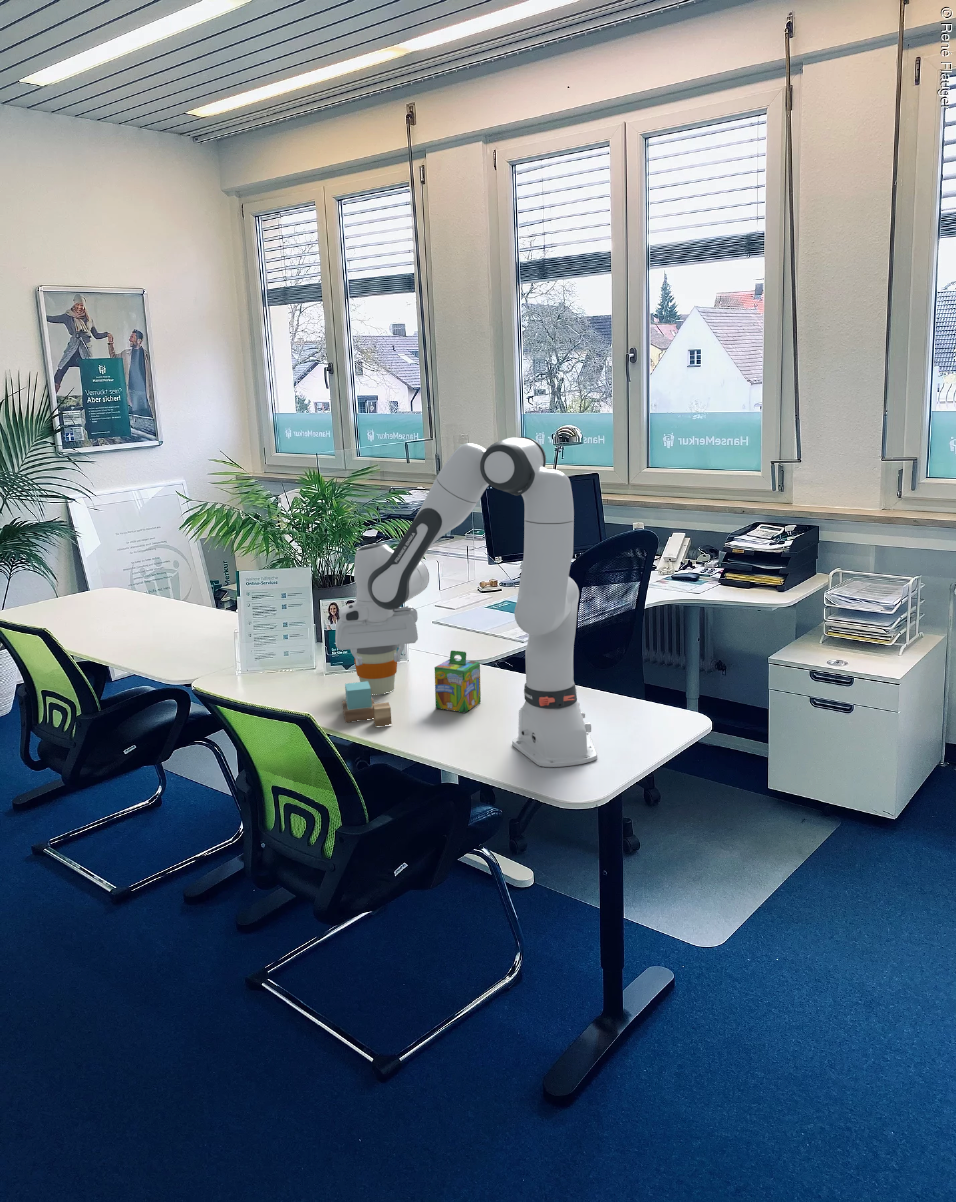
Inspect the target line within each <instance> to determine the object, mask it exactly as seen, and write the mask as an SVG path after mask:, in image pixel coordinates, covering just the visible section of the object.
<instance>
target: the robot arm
mask: <svg viewBox="0 0 956 1202" xmlns="http://www.w3.org/2000/svg"><path fill="white" fill-rule="evenodd" d="M546 462H547V455H546V452H545V450H544V448H543V447H542V445H541V444H540V443H539V441H536V440H535V439H533V438H530V437H526V436H518V437H507V438H504V439H501V440H499V441H495V442H494V443H492V444H491V445H490V446H489V447H487V448H485V447H483V446H482V445H480V444H476V443H469V442H468V443H464V444H463V443H462V444H461V445H459V446H458V447H457V448H456V450H455V451H454V452H453V453H452V454H451V455H450V457H449V458H448V459H447V461H446V462H445V463H444V465H442V468H441V469H440V470H439V472H438V474H437V476H436V477H435V479H434V481H433V483H432V485H431V487H430V488H429V490H428V493H427V494H426V497H425V498H424V501H423V503H422V504H421V506H420V508H419V510H418V511H417V514H416V515H415V517H414V519H413V521H412V523H411V524H410V526H408V529H407V530H406V531H405V533H404V534H403V536H402V538H401V540H400V541H399V543H398V544H397V546H396V547H395V549H392V548H391V547H390V546H389V545H388V544H387V543H384V542H376V543H371V544H367V545H364V546H362V547H360V548H358V549H357V550H356V552H355V556H354V582H355V585H356V596H355V598H356V600H355V602H352V603H350V604H347V605H345V606H344V605H343V606H341V607H340V608H338V609H339V610H338V616H339V618H338V620H337V622H336V625H335V635H334V636H335V646H336V648H337V649H338V650H339V651H344V650H346V651H347V650H350V653H351V654H352V656H353V657H354V659H356V665H357V666H359V665H362V657H358V656H357V654H356V653H357V648H368V647H378V646H389V645H398V648H397V651H396V653H395V654H393V655H394V662H397V663H398V662H401V656H402V653H403V651H404V650H405V645H408V644H416V642H417V641H418V639H419V634H418V628H417V624H416V623H417V621H418V618H419V617H418V611H417V609H416V608H414V607H412V606H411V605H407V606H402V605H404V604H405V603H407V602H408V601H410V600H412V599H413V598H415V597H416V596H418V595H419V594H421V593H422V592H423V591H425V590H426V589H427V588H428V585H429V582H430V574H429V569H428V568H427V567H428V566H426V564H425V563H424V562H423V561H422V559H423V558H424V557H425V555H426V554H427V552H428V551H429V549H430V548H431V547H432V545H434V544H435V543H436V541H438V540H439V539H440V538H441V537H443V536H445V535H446V534H447V533H448V532H451V531H452V530H454V529H455V528H456V527H459V526H460V525H462V523H463V522H464V521H465V520H467V518H468V517H469V516H470V514H471V513H472V512H473V511H474V509H475V508H476V506H477V504H478V502H479V501H480V499H481V498H482V496H483V494H484V493H485V491H486V489H487V488H488V487H489V486H491V487H492V488H494V489H497V490H500V491H502V492H505V493H508V494H511V495H514V496H521V497H522V499H523V504H524V520H523V521H524V522H523V523H524V525H523V527H524V531H523V533H524V534H523V535H524V536H523V537H524V538H523V559H522V565H521V572H520V578H519V586H518V592H517V593H518V594H517V600H516V604H515V607H514V619H515V622H516V625H517V626H518V627H519V628H520V630H522V631H523V632H525V633H526V634H528V638H527V644H526V647H525V652H524V653H525V655H524V656H525V683H524V689H523V693H524V694H523V695H524V700H525V701H524V703H523V705H522V706H521V708H520V709H519V710H518V727H517V728H518V732H517V733H518V735H517V737H516V738H514V739H512V742H511V744H512V747H513V748H515V749H517V750H518V751H519V752H520V753H521V754H523V755H524V756H525V757H527V758H528V759H529V760H531V761H532V762H533V763H535V764H536V765H537V766H539V767H544V768H545V767H546V768H553V767H554V768H556V767H557V768H558V767H560V768H562V767H569V766H570V767H571V766H577V765H583V764H586V763H590V762H593V761H595V760H597V759H598V753H597V751H596V749H595V748H596V747H595V745H594V742H593V740H592V737H591V735H590V734H591V732H592V724H591V722H585V721H584V719H585V718H586V713H585V712H584V711H583V712H582V711H581V707H580V703H579V702H578V697H577V695H578V694H577V693H578V692H577V688H576V683H575V681H574V649H575V648H574V647H575V646H574V645H575V638H576V629H577V621H578V619H577V618H578V607H579V606H578V605H579V604H578V603H579V599H580V590H579V587H578V584H577V583H576V582H575V580H574V579H573V578H571V576H570V570H571V565H572V561H573V556H574V530H575V529H574V527H575V525H574V524H575V522H574V521H575V520H574V519H575V517H574V516H575V509H574V498H573V497H574V496H573V491H572V483H571V481H570V478H569V477H568V475H567V474H565V473H564V472H563V471H560V470H557V469H552V468H551V469H550V468H546V464H547V463H546Z"/></svg>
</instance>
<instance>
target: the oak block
mask: <svg viewBox="0 0 956 1202" xmlns="http://www.w3.org/2000/svg"><path fill="white" fill-rule="evenodd" d="M373 715H374V720H373V724H374V723H375V724H374V726H385V725H389V724H392V709H391V705H390V702H389V701H387V702H379V703H375V704H373ZM392 725H393V724H392Z"/></svg>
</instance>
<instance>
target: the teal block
mask: <svg viewBox="0 0 956 1202" xmlns="http://www.w3.org/2000/svg"><path fill="white" fill-rule="evenodd" d="M344 686H345V687H344V689H345V701H346V702H347V706H348V710H349V709H358V708H367V707H372V700H371V698H372V695H371V688H370V685H369V682H368V681H366V682H360V681H357V682H349V683H345V684H344Z"/></svg>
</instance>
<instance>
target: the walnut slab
mask: <svg viewBox="0 0 956 1202" xmlns="http://www.w3.org/2000/svg"><path fill="white" fill-rule="evenodd" d="M371 700H372V707H367V708H358V709H349V710H348V706H347V702H346V700H343V701H341V702H342V703H341V705H342V713H343V717H344V721H345V723H346V722H347V723H353V722H352V721H356V722H358V721H357V720H365V721H368V720H367V719H372V718H374V715H373V704H376V703H375V701H374V698H373V697H371Z"/></svg>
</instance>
